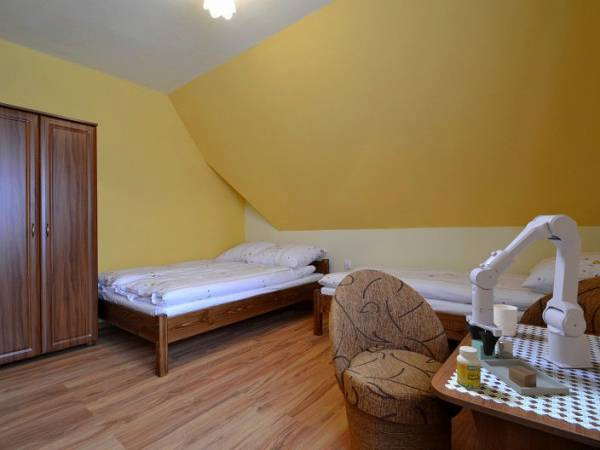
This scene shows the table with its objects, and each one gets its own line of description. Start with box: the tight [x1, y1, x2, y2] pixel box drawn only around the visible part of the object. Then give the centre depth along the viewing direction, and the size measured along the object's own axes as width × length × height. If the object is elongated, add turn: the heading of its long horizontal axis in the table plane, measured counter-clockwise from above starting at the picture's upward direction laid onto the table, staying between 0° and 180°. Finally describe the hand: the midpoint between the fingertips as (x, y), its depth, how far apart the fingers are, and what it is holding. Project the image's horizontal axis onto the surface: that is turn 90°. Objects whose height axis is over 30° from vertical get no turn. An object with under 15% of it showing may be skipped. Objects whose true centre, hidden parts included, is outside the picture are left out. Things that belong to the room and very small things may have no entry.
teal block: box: [471, 339, 496, 360], centre depth 96 cm, size 4×4×4 cm
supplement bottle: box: [456, 345, 482, 391], centre depth 79 cm, size 5×5×10 cm
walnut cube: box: [509, 366, 536, 388], centre depth 78 cm, size 4×4×4 cm
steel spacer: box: [496, 338, 514, 359], centre depth 96 cm, size 4×4×5 cm
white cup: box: [494, 303, 519, 337], centre depth 118 cm, size 8×8×10 cm
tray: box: [479, 358, 570, 396], centre depth 83 cm, size 12×16×2 cm
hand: (483, 351), depth 96 cm, fingers closed on teal block, 4 cm apart
